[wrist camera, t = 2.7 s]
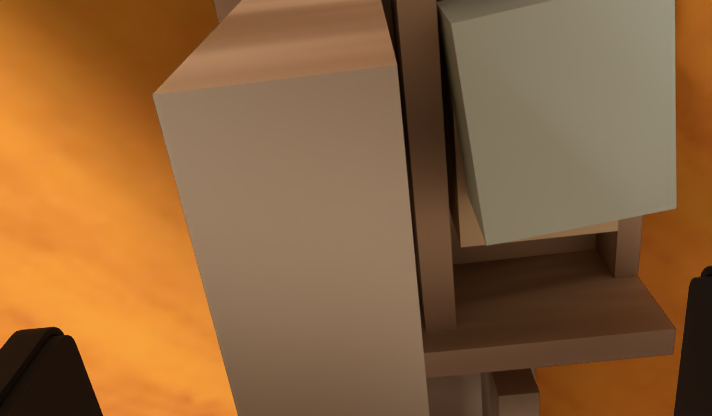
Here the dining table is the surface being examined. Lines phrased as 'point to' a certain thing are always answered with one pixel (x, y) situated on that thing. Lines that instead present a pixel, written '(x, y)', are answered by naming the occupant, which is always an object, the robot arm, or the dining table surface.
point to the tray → (505, 253)
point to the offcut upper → (562, 110)
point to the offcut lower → (456, 180)
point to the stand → (485, 394)
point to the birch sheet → (301, 207)
